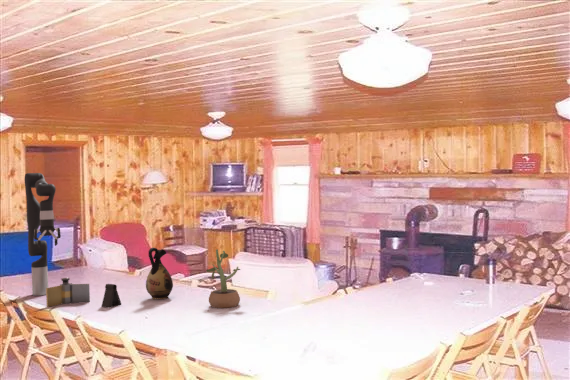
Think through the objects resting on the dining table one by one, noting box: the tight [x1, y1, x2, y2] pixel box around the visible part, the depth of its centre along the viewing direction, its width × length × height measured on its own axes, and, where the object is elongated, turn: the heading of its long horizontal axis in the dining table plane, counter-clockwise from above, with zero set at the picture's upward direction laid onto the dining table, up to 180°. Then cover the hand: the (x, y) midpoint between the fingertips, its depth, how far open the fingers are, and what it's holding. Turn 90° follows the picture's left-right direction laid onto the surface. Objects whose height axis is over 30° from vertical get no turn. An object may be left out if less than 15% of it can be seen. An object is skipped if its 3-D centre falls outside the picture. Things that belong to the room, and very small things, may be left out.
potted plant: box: [205, 249, 242, 309], centre depth 342 cm, size 22×18×30 cm
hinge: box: [45, 282, 91, 308], centre depth 356 cm, size 10×23×10 cm, turn 118°
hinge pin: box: [61, 277, 70, 285], centre depth 358 cm, size 4×4×14 cm
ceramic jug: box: [145, 247, 174, 300], centre depth 363 cm, size 17×15×30 cm
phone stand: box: [101, 283, 122, 309], centre depth 346 cm, size 9×6×12 cm, turn 146°
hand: (47, 246), depth 362 cm, fingers open, 8 cm apart
